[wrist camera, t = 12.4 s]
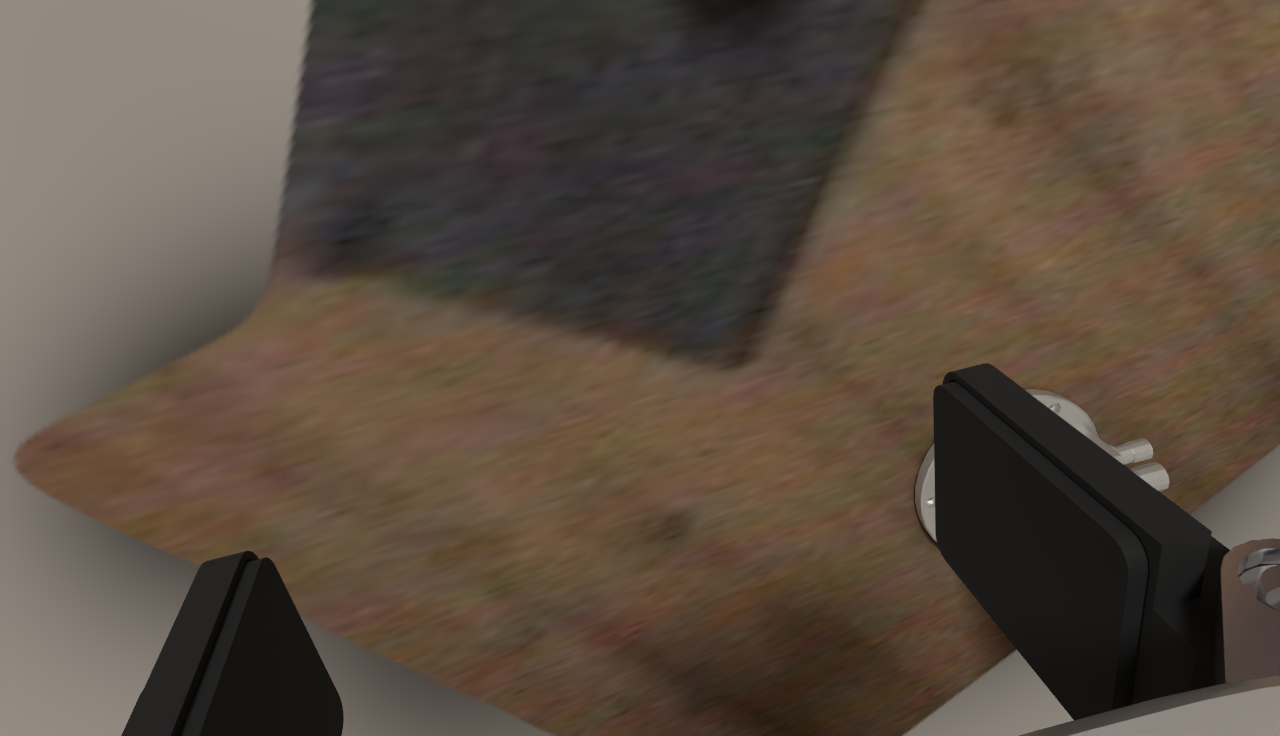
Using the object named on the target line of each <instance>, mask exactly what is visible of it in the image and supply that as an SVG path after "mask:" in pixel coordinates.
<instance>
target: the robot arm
mask: <svg viewBox="0 0 1280 736" xmlns="http://www.w3.org/2000/svg"><path fill="white" fill-rule="evenodd" d="M933 404H934V443H933V445H932V447H931V448H930V450H929V451H928V453H927V454H926V456H925V458H924V461H923V463H922V465H921V467H920V470H919V473H918V477H917V481H916V486H915V504H916V509H917V514H918V517H919V519H920V521H921V523H922V525H923V527H924V528H925V529H926V530H927V532H928V533H929V534H930V535H931V537H932V538H933V539H934V540H935V541H936V542H937V544H938V547H939V549H940V552H941V554H942V556H943V557H944V559H945V560H946V562H947V563H948V564H949V565H950V567H951V568H952V569H953V570H954V572H955V573H956V574H957V575H958V576H959V578H960V579H961V580H962V581H963V583H964V584H965V585H966V586H967V588H968V589H969V590H970V591H971V593H972V594H973V595H974V596H975V598H976V599H977V600H978V601H979V603H980V604H981V605H982V606H983V608H984V609H985V610H986V611H987V613H988V614H989V615H990V616H991V618H992V619H993V620H994V621H995V623H996V624H997V625H998V626H999V628H1000V629H1001V630H1002V631H1003V632H1004V634H1005V635H1006V636H1007V637H1008V639H1009V640H1010V641H1011V642H1012V644H1013V645H1014V646H1015V647H1016V649H1017V650H1018V651H1019V652H1020V654H1021V655H1022V656H1023V657H1024V659H1025V660H1026V661H1027V662H1028V664H1029V665H1030V666H1031V667H1032V669H1033V670H1034V671H1035V672H1036V674H1037V675H1038V676H1039V677H1040V679H1041V680H1042V681H1043V682H1044V683H1045V685H1046V686H1047V687H1048V688H1049V690H1050V691H1051V692H1052V693H1053V695H1055V697H1056V698H1057V700H1058V701H1059V702H1060V703H1061V705H1062V706H1063V707H1064V708H1065V710H1066V711H1067V712H1068V713H1069V714H1070V716H1071V717H1072V718H1073V719H1074V721H1071V722H1067V723H1064V724H1060V725H1056V726H1052V727H1049V728H1045V729H1041V730H1038V731H1034V732H1031V733H1027V734H1024V735H1020V736H1280V539H1274V538H1272V539H1261V540H1252V541H1248V542H1246V543H1243V544H1240V545H1238V546H1235V547H1234V548H1232V549H1231V550H1229V549H1228V548H1226V547H1225V546H1224V545H1222V544H1221V543H1220V542H1218V541H1217V540H1216V539H1215V538H1213V537H1212V536H1211V533H1212V532H1211V531H1210V530H1209V529H1207V528H1206V527H1205V526H1204V525H1202V524H1201V523H1200V522H1198V521H1197V520H1196V519H1195V518H1193V517H1192V516H1191V515H1189V514H1188V513H1187V512H1185V511H1184V510H1183V509H1181V508H1180V507H1179V506H1177V505H1176V504H1175V503H1173V502H1172V501H1171V500H1169V499H1168V498H1167V497H1165V496H1164V495H1163V494H1162V493H1160V491H1164V490H1165V489H1167V488H1168V486H1169V477H1168V474H1167V472H1166V470H1165V469H1164V468H1163V467H1162V466H1161V465H1160V464H1159V463H1156V462H1151V463H1148V464H1144V465H1140V466H1137V467H1133V468H1127V467H1126V466H1125V465H1124V464H1128V463H1130V464H1132V463H1136V462H1140V461H1143V460H1147V459H1150V458H1152V456H1153V448H1152V446H1151V444H1150V443H1149V442H1148V441H1147V440H1146V439H1143V438H1141V439H1138V440H1134V441H1130V442H1126V443H1123V444H1121V445H1119V446H1115V447H1113V446H1112V445H1109V444H1106V443H1105V442H1103V441H1102V440H1101V439H1099V438H1098V435H1097V431H1096V428H1095V425H1094V424H1093V422H1092V421H1091V419H1090V418H1089V416H1088V415H1087V414H1086V413H1085V412H1084V411H1083V410H1082V409H1081V408H1079V407H1078V406H1077V405H1076V404H1074V403H1073V402H1071V401H1070V400H1068V399H1067V398H1065V397H1064V396H1062V395H1059V394H1056V393H1053V392H1050V391H1045V390H1036V389H1028V390H1024V389H1023V388H1022V387H1020V386H1019V385H1018V384H1016V383H1015V382H1014V381H1012V380H1011V379H1010V378H1008V377H1007V376H1006V375H1004V374H1003V373H1002V372H1001V371H999V370H998V369H997V368H995V367H994V366H992V365H990V364H980V365H976V366H973V367H969V368H965V369H961V370H957V371H953V372H949V373H948V374H946V375H945V377H944V380H943V385H939V386H937V387H936V388H935V390H934V396H933ZM342 729H343V707H342V703H341V700H340V697H339V694H338V692H337V690H336V688H335V686H334V684H333V682H332V680H331V678H330V676H329V674H328V672H327V670H326V668H325V666H324V664H323V662H322V660H321V658H320V656H319V654H318V652H317V650H316V648H315V645H314V644H313V641H312V639H311V638H310V635H309V633H308V632H307V629H306V627H305V625H304V623H303V621H302V619H301V617H300V615H299V613H298V611H297V609H296V607H295V605H294V603H293V601H292V599H291V597H290V595H289V593H288V591H287V589H286V587H285V585H284V583H283V581H282V579H281V577H280V575H279V573H278V571H277V569H276V567H275V565H274V563H273V562H272V560H270V559H269V558H266V557H265V558H261V559H258V557H257V556H256V555H255V554H254V553H253V552H251V551H245V552H241V553H237V554H233V555H229V556H225V557H221V558H217V559H213V560H209V561H206V562H204V563H202V565H201V566H200V568H199V570H198V572H197V574H196V576H195V578H194V581H193V583H192V585H191V587H190V589H189V592H188V594H187V596H186V598H185V600H184V602H183V605H182V607H181V609H180V611H179V614H178V616H177V618H176V620H175V622H174V625H173V626H172V629H171V631H170V633H169V635H168V638H167V640H166V642H165V644H164V646H163V649H162V651H161V653H160V655H159V657H158V660H157V662H156V664H155V666H154V668H153V670H152V673H151V675H150V677H149V679H148V681H147V683H146V686H145V688H144V690H143V691H142V693H141V694H140V696H139V698H138V701H137V703H136V705H135V707H134V709H133V712H132V714H131V716H130V718H129V720H128V722H127V725H126V727H125V729H124V731H123V733H122V736H341V735H342Z"/></svg>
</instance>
